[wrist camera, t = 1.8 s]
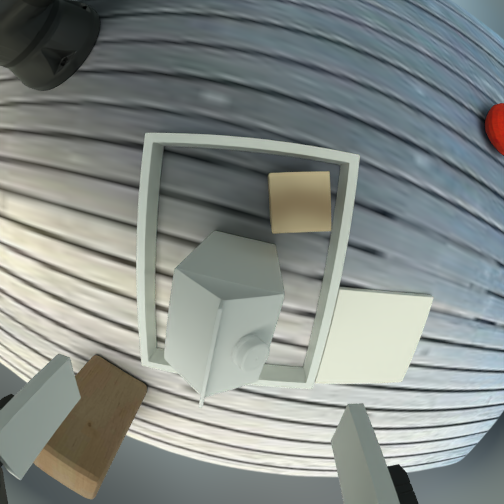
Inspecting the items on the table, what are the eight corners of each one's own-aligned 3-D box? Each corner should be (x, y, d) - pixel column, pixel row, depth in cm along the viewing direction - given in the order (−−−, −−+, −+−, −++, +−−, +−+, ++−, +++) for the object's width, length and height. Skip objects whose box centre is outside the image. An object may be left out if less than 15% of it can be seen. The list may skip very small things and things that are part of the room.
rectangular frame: (157, 137, 30) (145, 132, 26) (349, 158, 29) (359, 155, 26) (150, 351, 36) (141, 365, 33) (308, 373, 36) (312, 389, 33)
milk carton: (202, 287, 34) (145, 392, 15) (214, 229, 32) (150, 290, 13) (261, 301, 34) (257, 419, 15) (275, 244, 32) (291, 324, 14)
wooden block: (150, 384, 38) (99, 485, 18) (135, 416, 40) (92, 503, 20) (95, 350, 37) (23, 434, 17) (86, 386, 39) (30, 462, 20)
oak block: (267, 176, 30) (269, 173, 23) (313, 174, 30) (329, 171, 22) (270, 221, 31) (272, 233, 24) (314, 219, 31) (331, 230, 23)
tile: (337, 286, 33) (339, 289, 32) (430, 294, 33) (433, 297, 32) (314, 378, 36) (315, 383, 35) (399, 378, 36) (401, 382, 35)
